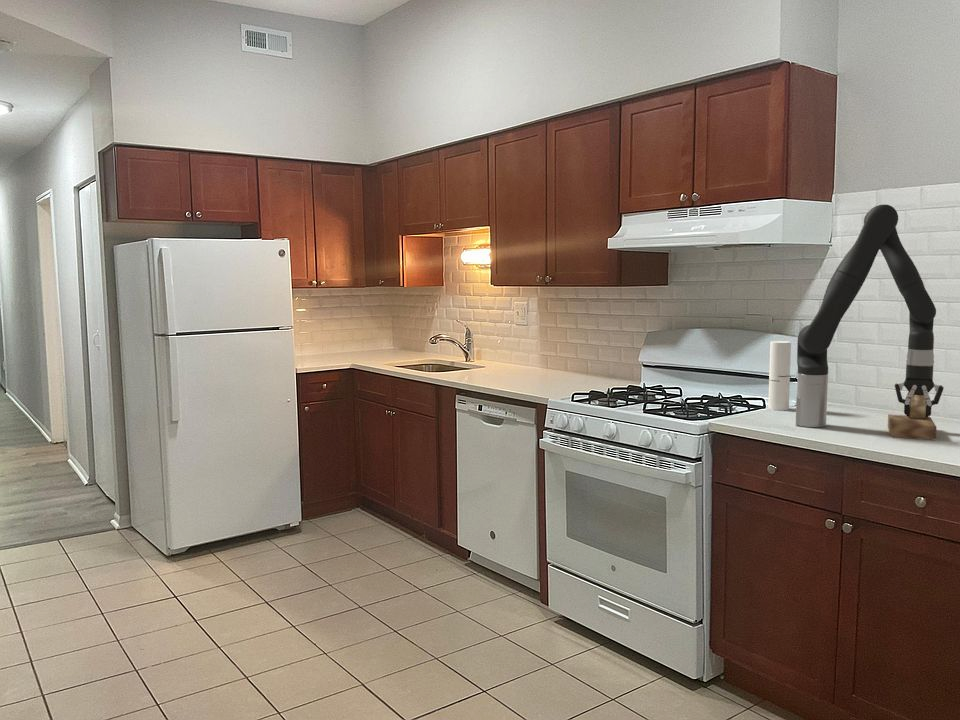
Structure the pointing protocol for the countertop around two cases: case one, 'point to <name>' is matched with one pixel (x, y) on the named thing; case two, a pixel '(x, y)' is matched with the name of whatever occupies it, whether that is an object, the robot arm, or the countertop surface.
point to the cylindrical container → (779, 375)
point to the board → (911, 427)
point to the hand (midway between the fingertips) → (917, 416)
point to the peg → (917, 407)
